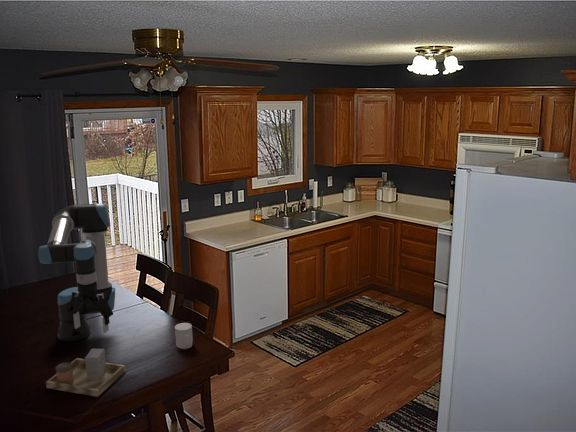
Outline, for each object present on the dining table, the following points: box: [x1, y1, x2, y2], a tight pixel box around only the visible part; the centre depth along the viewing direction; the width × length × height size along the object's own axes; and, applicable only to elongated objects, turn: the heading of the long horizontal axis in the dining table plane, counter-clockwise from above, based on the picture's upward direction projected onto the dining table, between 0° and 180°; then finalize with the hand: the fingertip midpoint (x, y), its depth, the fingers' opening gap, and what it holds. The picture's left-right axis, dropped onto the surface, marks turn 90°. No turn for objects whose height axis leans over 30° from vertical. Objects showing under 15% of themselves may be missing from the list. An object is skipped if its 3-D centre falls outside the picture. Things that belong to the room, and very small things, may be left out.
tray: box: [45, 357, 126, 398], centre depth 223 cm, size 24×20×4 cm
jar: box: [55, 361, 74, 385], centre depth 219 cm, size 6×6×8 cm
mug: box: [174, 322, 194, 350], centre depth 252 cm, size 12×9×8 cm
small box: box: [84, 348, 107, 380], centre depth 225 cm, size 8×6×10 cm
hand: (91, 329), depth 222 cm, fingers open, 13 cm apart
